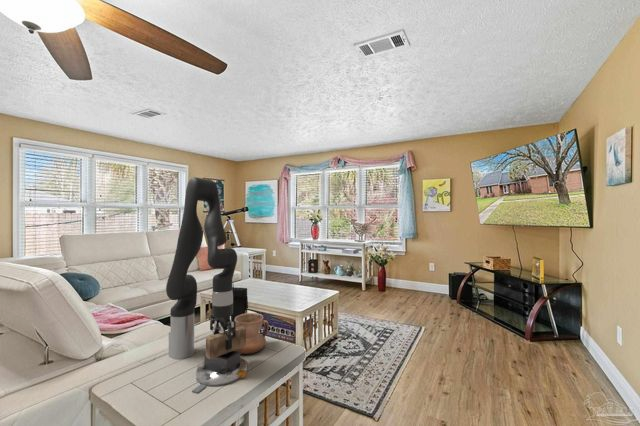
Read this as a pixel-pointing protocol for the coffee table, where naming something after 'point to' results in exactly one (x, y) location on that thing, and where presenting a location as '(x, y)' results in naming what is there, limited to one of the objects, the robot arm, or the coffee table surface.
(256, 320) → the ceramic jug
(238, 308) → the portable radio
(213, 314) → the robot arm
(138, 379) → the coffee table surface
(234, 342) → the brown wooden block
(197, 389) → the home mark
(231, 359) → the grey disc
